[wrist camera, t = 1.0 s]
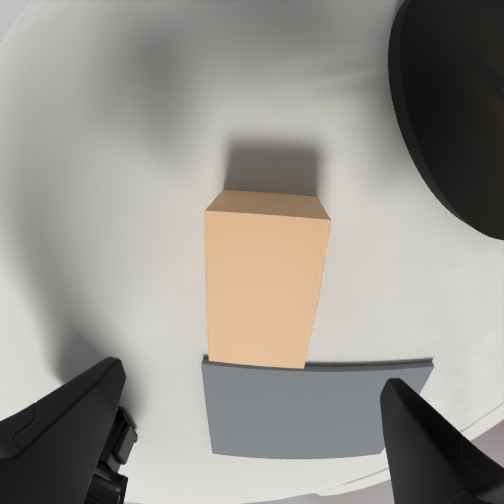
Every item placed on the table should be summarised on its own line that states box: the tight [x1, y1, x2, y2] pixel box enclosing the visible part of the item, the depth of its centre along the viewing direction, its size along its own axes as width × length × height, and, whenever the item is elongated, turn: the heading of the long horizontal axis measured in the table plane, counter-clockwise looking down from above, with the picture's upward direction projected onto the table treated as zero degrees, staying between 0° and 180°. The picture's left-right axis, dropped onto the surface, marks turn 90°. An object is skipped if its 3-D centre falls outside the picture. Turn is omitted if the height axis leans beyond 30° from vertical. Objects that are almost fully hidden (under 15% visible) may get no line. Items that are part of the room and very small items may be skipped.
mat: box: [202, 358, 434, 459], centre depth 22 cm, size 18×14×1 cm
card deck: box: [205, 190, 331, 369], centre depth 15 cm, size 5×8×4 cm, turn 177°
